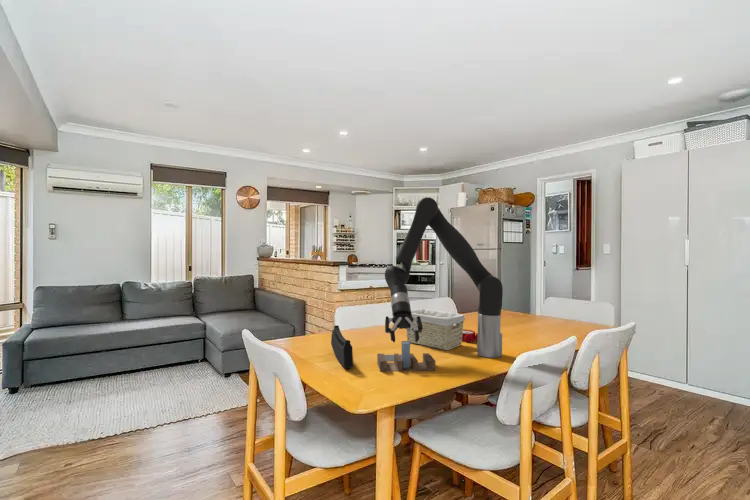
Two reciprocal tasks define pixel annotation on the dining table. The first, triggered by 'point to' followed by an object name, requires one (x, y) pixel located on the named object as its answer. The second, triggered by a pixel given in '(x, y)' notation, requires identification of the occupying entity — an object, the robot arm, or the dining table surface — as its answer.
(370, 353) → the dining table surface
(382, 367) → the rack
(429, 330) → the storage basket
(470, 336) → the alarm clock
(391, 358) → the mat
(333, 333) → the magazine
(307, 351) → the dining table surface
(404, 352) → the tile
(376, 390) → the dining table surface
